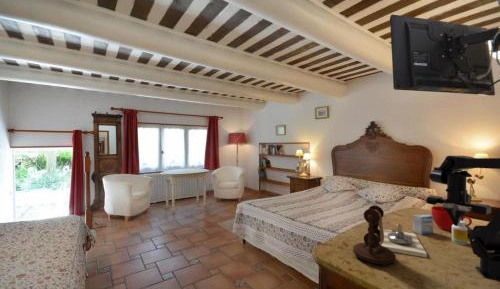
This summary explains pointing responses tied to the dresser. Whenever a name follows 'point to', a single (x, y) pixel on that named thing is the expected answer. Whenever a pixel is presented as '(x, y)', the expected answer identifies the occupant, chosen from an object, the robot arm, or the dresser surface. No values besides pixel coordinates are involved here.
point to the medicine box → (423, 224)
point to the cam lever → (399, 236)
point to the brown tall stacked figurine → (374, 240)
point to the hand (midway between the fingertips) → (456, 225)
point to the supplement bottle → (459, 233)
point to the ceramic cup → (444, 218)
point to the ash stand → (406, 249)
